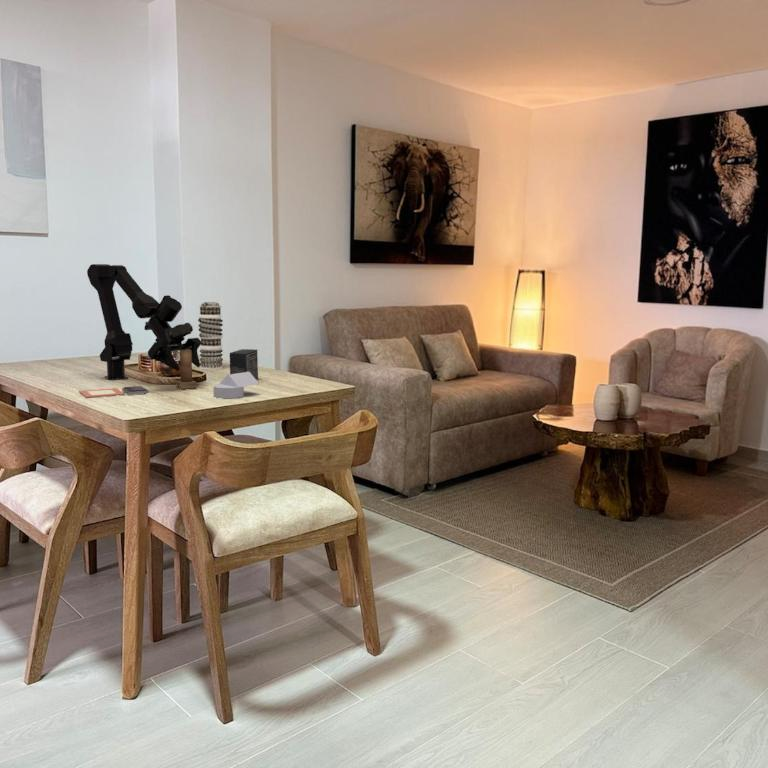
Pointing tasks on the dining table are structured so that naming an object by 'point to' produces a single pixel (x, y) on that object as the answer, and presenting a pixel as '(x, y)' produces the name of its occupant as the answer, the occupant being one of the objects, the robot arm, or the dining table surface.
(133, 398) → the dining table surface
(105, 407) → the dining table surface
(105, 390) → the print card
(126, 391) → the ink pad
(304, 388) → the dining table surface
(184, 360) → the stamp
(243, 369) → the small box
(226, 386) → the wedge on round base
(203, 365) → the decorative candle
